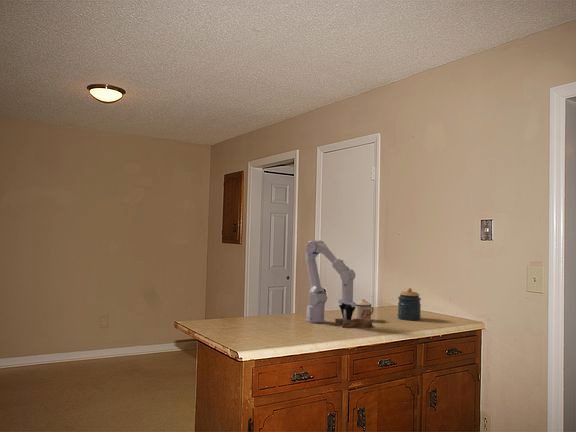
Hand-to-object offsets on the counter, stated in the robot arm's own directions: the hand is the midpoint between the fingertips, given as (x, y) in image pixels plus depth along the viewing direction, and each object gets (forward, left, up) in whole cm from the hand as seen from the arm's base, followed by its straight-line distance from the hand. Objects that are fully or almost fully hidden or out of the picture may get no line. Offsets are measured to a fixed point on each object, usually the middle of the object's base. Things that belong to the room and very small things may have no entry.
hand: (346, 319), depth 253 cm
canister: (+45, +18, -4) cm, 49 cm away
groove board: (+4, +2, -4) cm, 6 cm away
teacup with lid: (+17, +17, -4) cm, 25 cm away
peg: (0, 0, -2) cm, 2 cm away
